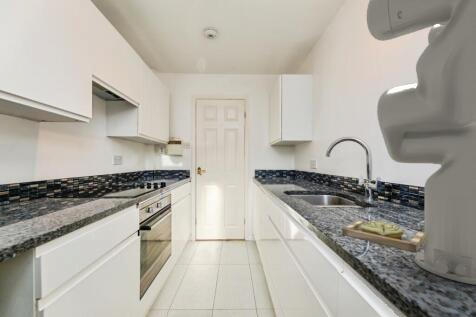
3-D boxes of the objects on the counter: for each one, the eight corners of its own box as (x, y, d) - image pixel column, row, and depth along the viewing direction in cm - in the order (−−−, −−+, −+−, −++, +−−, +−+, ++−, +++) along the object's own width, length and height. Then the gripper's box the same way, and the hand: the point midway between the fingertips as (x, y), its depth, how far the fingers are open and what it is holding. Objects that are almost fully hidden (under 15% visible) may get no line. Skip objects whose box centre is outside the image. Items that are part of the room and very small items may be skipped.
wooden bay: (416, 252, 56) (416, 245, 56) (342, 234, 69) (342, 228, 69) (425, 238, 67) (425, 232, 67) (359, 225, 80) (359, 220, 80)
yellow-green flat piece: (353, 233, 71) (353, 221, 71) (375, 229, 76) (375, 218, 76) (386, 244, 62) (386, 230, 62) (410, 239, 66) (410, 226, 66)
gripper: (479, 60, 54) (479, 136, 54) (478, 78, 66) (477, 141, 65) (438, 69, 60) (437, 138, 60) (443, 84, 71) (443, 142, 71)
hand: (458, 139), depth 62 cm, fingers closed
